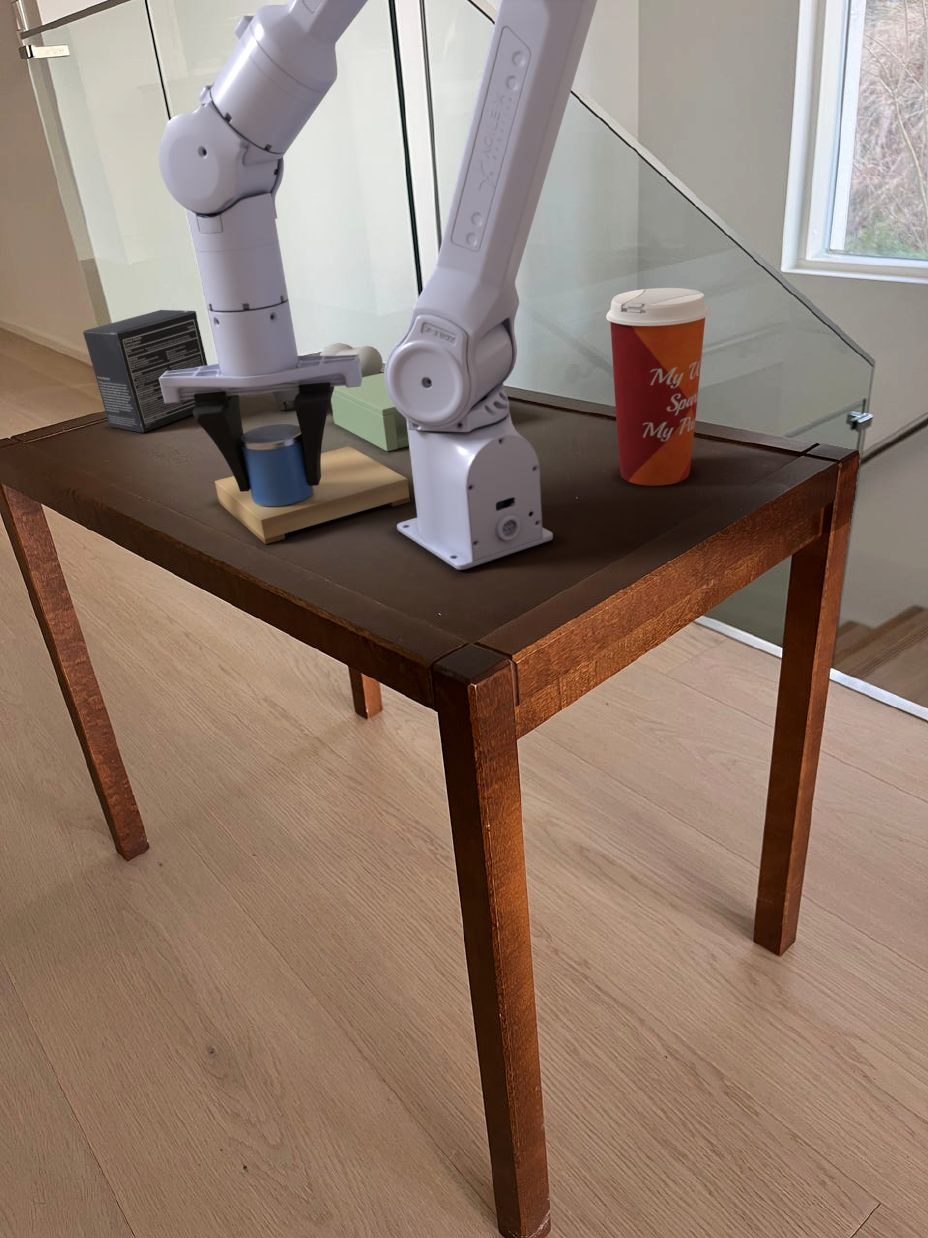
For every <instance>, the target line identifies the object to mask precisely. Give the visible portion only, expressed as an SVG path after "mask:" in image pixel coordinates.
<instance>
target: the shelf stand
mask: <svg viewBox="0 0 928 1238" xmlns="http://www.w3.org/2000/svg"><path fill="white" fill-rule="evenodd" d="M330 405H331V410H332V417H333V424H334V425H337V426H339V427H340V428H342V429H344V430H346V431H347V432H350V433H352V434H353V435H356V436H357V437H359V438H361V439H363V440H364V441H366V442H369V443H370V444H372V445H374V446H376V447H377V448H380V449H382V450H383V451H385V452H391V451H395V450H398V449H402V448H407V447H409V440H408V431H407V420H406V418H405V417H404V416H403V415H402V414H401V413H400V412H399V411H398V410H397V409H396V407H395V406H394V404H393V403H392V401H391V399H390V397H389V395H388V392H387V389H386V385H385V377H384V372H380V373H379V374H375V375H371V376H367V377H362V383H361V386H360V387H346V385H344V386H334V391H333V394H332V397H331V401H330Z"/></svg>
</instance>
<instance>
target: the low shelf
mask: <svg viewBox="0 0 928 1238" xmlns="http://www.w3.org/2000/svg"><path fill="white" fill-rule="evenodd" d="M214 485H215V489H216V494H217V499H218V503H219V504H220V505H221V506H222V507H223V508H224V509H225V510H227V512H228V513H230V514H231V515H232V516H233V517H235V518H236V520H238V521H239V522H240V523H241V524H242V525H243V526H245V528H247V530H249V531H250V532H251V533H252V534H253V535H254V536H255V537H257V538H258V539H259V540H260V541H261V542H263V543H264V544H265V545H268V544H272V543H274V542H278V541H281V540H282V541H283V540H285V539H286V535H285V534H288V533H291V532H294V531H298V530H301V529H305V528H308V527H309V528H310V527H311V526H315V525H318V524H322V523H325V522H329V521H331V520H332V521H333V520H336V519H339V518H343V517H346V516H349V515H353V514H356V513H357V514H358V513H360V512H363V511H367V510H370V509H373V508H377V507H381V506H384V505H389V506H390V507H397V506H400V505H404V504H407V503H410V502H411V498H410V490H409V481H408V478H407V477H405V476H403V475H401V474H400V473H398V472H397V471H394V470H392V469H391V468H390V467H387V466H386V465H384V464H382V463H380V462H378V461H377V460H375V459H373V458H372V457H370V456H367V455H366V454H364V453H362V452H361V451H358V450H357V449H356V448H353V447H351V446H349V445H348V446H345V447H340V448H336V449H332V450H329V451H325V452H321V479H320V482H319V485H315V486H313V489H314V491H313V493H312V495H311V496H310V497H308V498H306V499H305V500H302V501H300V502H297V503H294V504H289V505H284V506H262V505H258V504H256V503H254V502H253V500H252V496H251V491H250V490H249V491H245V492H240V489H239V487H238V484H237V482H236V479H235V477H234V475H233V476H229V477H225V478H221V479H217V480H214Z"/></svg>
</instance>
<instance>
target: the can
mask: <svg viewBox="0 0 928 1238" xmlns="http://www.w3.org/2000/svg"><path fill="white" fill-rule="evenodd" d="M239 440H240V445H241V447H242V451H243V456H244V461H245V466H246V471H247V476H248V481H249V486H250V491H251V496H252V500H253V502H254V503H256V504H258V505H262V506H284V505H289V504H294V503H297V502H300V501H302V500H305V499H306V498H308V497H310V496H311V495H312V493H313V491H314V489H313V486H309V482H308V477H307V471H306V461H305V451H304V445H303V440H302V435H301V431H300V427H299V424H295V423H271V424H265V425H260V426H258V427H257V426H256V427H254V428H251V429H249V430H246V431H245V432H244V431H243V434H242V435H241V436H240V438H239Z"/></svg>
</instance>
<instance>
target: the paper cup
mask: <svg viewBox="0 0 928 1238" xmlns="http://www.w3.org/2000/svg"><path fill="white" fill-rule="evenodd" d="M609 309H610V310H608V312H607V313H606V315H605V318H606V320H607V321H608V322H609V323H610V337H611V355H612V356H611V357H612V371H613V372H612V373H613V387H614V406H615V418H616V419H615V421H616V434H617V451H618V462H619V472H620V476H621V478H622V479H623V480H624V481H626V482H627V483H628V482H629V483H631V484H634V485H639V486H649V487H650V486H651V487H655V486H656V487H658V486H659V487H660V486H668V485H672V484H676V483H677V484H678V483H680V482H683V481H684V480H686V479H687V478H688V477H689V476H690V471H691V466H692V465H691V464H692V457H693V450H694V449H693V448H694V439H695V427H696V419H697V418H696V417H697V410H698V409H697V408H698V398H699V388H700V379H701V368H702V367H701V365H702V355H703V345H704V336H705V326H706V318H707V317H708V316H709V315H710V314H711V310H710V308H709V307H708V306H707V305H706V295H704V292H701V291H699V290H697V289H691V288H684V287H683V288H682V287H654V288H644V289H636V290H630V291H626V292H622V293H619V294H616V295H615V296H613V298H612V299H611V302H610V308H609Z"/></svg>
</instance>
